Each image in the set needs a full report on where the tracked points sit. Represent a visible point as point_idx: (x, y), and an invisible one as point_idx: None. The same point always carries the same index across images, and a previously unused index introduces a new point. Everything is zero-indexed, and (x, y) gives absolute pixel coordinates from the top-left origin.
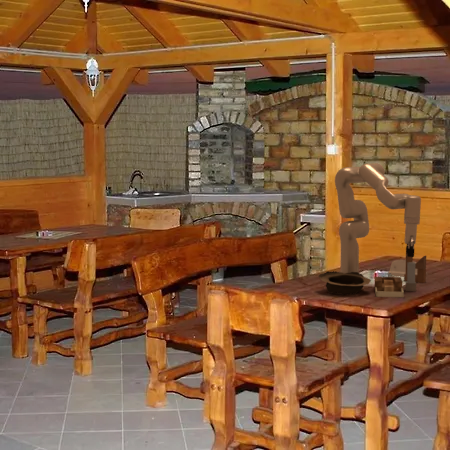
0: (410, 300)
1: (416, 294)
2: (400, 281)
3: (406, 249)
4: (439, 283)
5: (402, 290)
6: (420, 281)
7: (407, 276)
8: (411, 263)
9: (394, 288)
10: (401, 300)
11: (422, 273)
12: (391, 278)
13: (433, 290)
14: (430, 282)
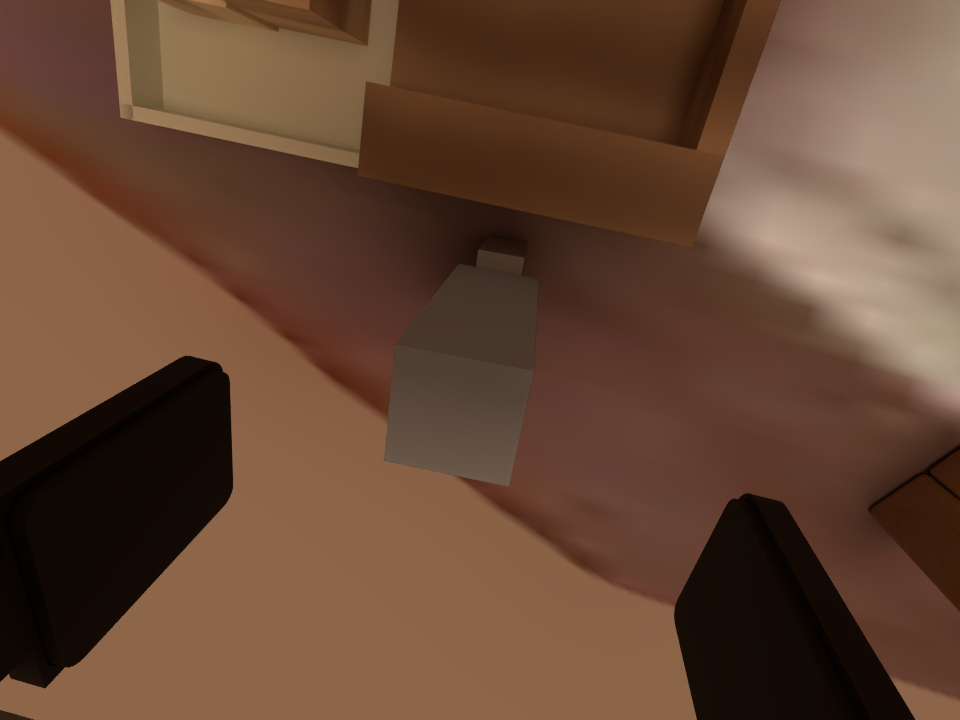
0: (36, 148)
1: (319, 285)
2: (368, 152)
3: (783, 582)
4: None
5: (216, 128)
6: (898, 499)
7: (492, 289)
8: (390, 399)
9: (394, 79)
10: (12, 56)
11: (939, 570)
12: (706, 107)
13: None
14: (875, 568)
